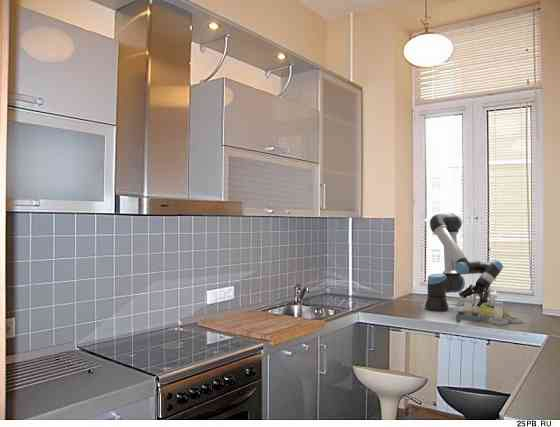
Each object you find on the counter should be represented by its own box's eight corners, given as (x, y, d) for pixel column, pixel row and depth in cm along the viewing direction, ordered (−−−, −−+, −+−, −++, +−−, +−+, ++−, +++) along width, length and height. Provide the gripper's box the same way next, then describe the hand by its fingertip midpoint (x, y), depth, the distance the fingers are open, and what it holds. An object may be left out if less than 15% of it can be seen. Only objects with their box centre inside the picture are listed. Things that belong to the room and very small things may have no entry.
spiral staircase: (495, 314, 311) (456, 308, 321) (496, 299, 325) (458, 294, 335) (497, 291, 303) (457, 287, 314) (498, 277, 318) (459, 273, 328)
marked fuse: (463, 317, 275) (464, 297, 275) (472, 318, 273) (472, 298, 273) (463, 319, 271) (463, 299, 271) (472, 319, 269) (472, 299, 269)
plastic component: (511, 315, 278) (500, 309, 275) (506, 326, 277) (495, 320, 274) (487, 306, 297) (476, 300, 293) (482, 316, 296) (471, 311, 293)
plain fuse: (493, 321, 262) (493, 301, 263) (502, 322, 261) (502, 301, 261) (493, 323, 258) (494, 302, 258) (503, 324, 256) (503, 303, 256)
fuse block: (511, 322, 269) (511, 316, 269) (525, 325, 261) (525, 319, 261) (486, 324, 262) (486, 318, 262) (498, 328, 253) (498, 322, 253)
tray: (457, 317, 280) (457, 310, 280) (479, 319, 275) (479, 312, 275) (456, 321, 269) (456, 314, 269) (479, 323, 264) (479, 316, 264)
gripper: (504, 288, 266) (484, 316, 261) (472, 282, 289) (453, 307, 284) (498, 280, 264) (477, 307, 259) (466, 274, 287) (446, 299, 282)
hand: (465, 307), depth 271 cm, fingers open, 13 cm apart
